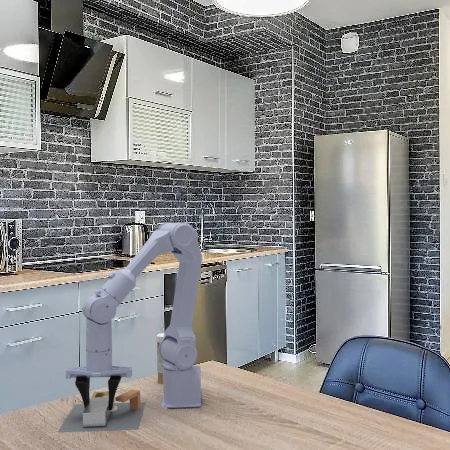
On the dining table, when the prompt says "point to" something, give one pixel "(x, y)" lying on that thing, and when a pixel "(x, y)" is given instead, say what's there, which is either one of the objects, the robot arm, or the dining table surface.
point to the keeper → (130, 398)
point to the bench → (117, 420)
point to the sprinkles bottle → (159, 359)
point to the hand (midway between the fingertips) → (99, 409)
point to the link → (97, 410)
